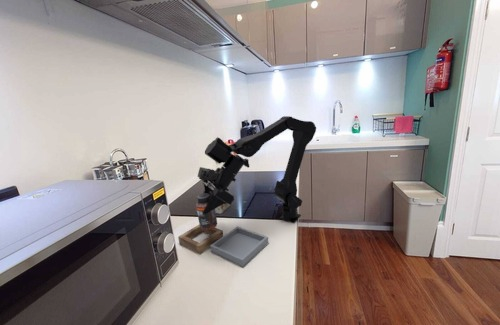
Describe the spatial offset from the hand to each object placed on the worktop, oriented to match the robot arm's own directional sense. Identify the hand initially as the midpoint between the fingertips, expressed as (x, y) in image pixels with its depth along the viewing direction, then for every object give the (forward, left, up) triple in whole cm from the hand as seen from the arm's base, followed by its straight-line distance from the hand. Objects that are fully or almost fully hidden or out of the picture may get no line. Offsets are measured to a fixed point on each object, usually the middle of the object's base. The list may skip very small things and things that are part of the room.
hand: (201, 209), depth 75 cm
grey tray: (-5, +11, -13) cm, 18 cm away
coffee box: (-23, -16, -14) cm, 31 cm away
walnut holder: (-1, -3, -13) cm, 14 cm away
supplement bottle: (-1, +1, -7) cm, 7 cm away
